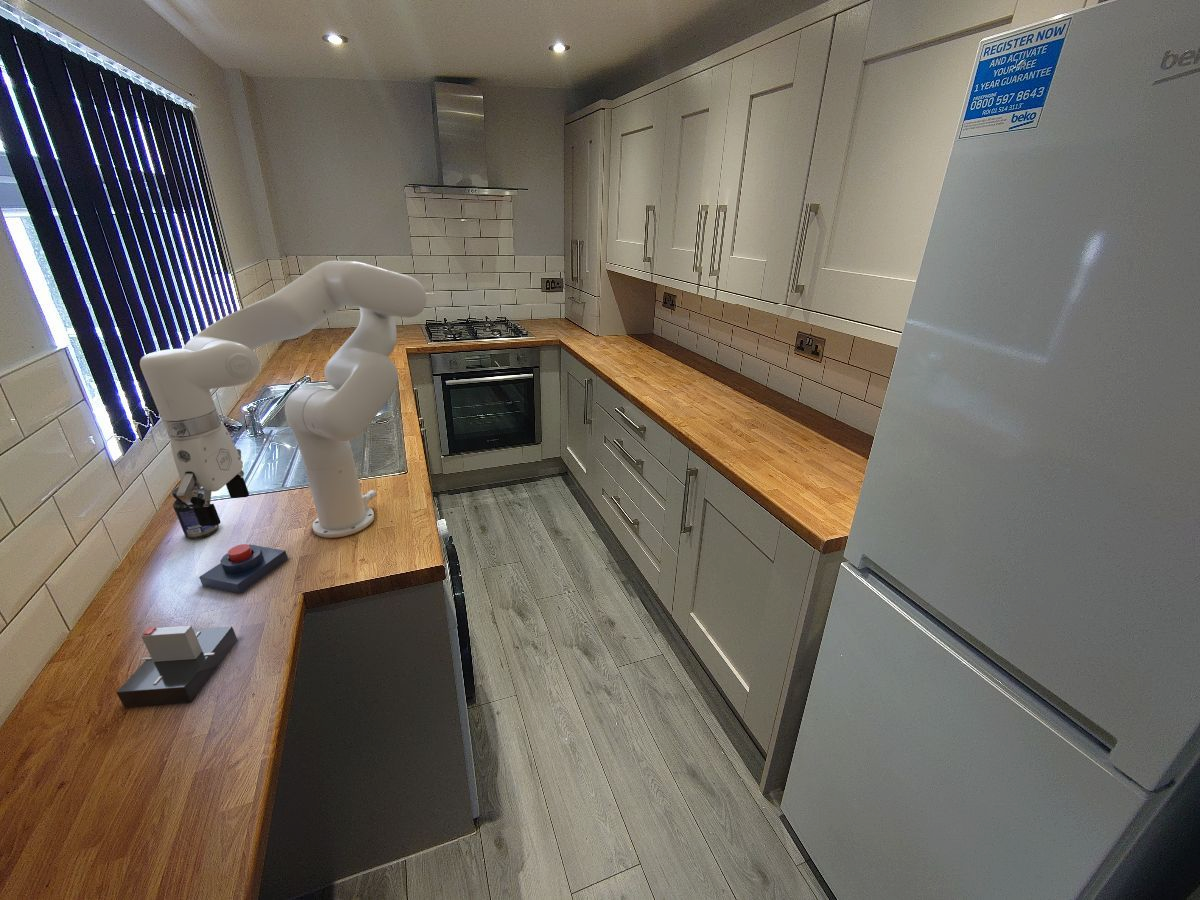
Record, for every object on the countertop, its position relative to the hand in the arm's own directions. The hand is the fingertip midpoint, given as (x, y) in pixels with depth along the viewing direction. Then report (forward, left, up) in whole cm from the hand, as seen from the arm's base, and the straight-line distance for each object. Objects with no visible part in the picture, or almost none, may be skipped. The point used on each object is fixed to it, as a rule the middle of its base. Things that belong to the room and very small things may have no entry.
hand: (226, 510), depth 96 cm
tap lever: (+22, +12, -11) cm, 27 cm away
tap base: (+22, +12, -14) cm, 29 cm away
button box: (0, 0, -14) cm, 14 cm away
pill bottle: (-9, -22, -14) cm, 28 cm away
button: (0, 0, -10) cm, 10 cm away
